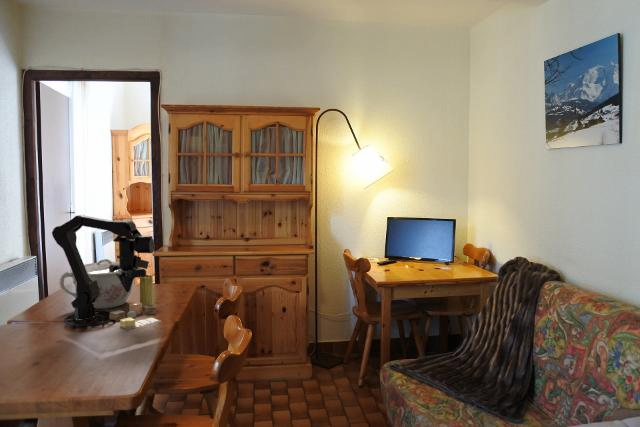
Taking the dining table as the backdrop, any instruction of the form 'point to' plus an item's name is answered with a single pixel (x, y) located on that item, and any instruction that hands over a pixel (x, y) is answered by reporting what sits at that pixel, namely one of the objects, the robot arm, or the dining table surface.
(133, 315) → the grey ball
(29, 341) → the dining table surface
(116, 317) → the walnut cube
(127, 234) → the robot arm
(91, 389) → the dining table surface
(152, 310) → the walnut cube
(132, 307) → the peach rounded capsule
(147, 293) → the vase
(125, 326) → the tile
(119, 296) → the chamber pot
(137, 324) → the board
